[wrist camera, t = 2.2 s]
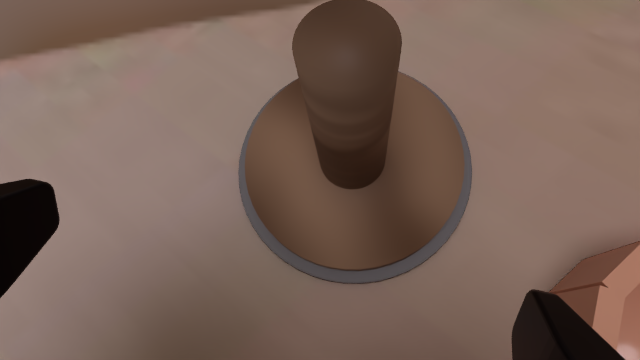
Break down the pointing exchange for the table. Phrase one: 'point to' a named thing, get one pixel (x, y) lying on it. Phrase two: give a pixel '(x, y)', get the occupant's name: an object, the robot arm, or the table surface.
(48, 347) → the table surface
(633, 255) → the bowl
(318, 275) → the mat
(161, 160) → the table surface
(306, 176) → the post with round base
